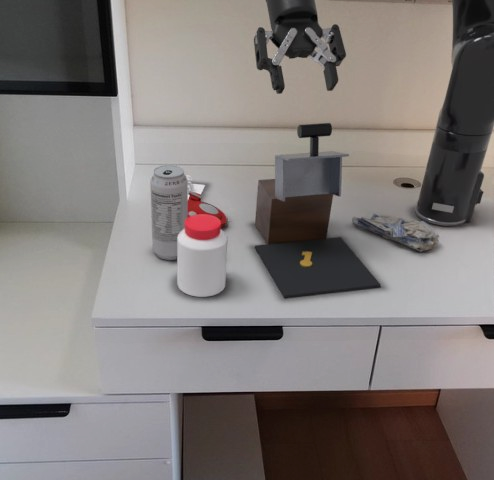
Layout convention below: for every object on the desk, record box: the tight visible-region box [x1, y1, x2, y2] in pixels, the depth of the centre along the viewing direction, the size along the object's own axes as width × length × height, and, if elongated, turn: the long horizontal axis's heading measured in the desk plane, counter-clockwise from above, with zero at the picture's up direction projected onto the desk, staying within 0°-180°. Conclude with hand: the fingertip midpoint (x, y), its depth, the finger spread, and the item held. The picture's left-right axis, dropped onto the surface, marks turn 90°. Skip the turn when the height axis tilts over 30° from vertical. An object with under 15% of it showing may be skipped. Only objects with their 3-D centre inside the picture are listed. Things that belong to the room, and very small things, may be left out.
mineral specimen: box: [351, 213, 440, 253], centre depth 110 cm, size 15×8×4 cm, turn 34°
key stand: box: [254, 178, 334, 244], centre depth 110 cm, size 8×11×9 cm
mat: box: [254, 236, 382, 299], centre depth 103 cm, size 16×16×1 cm
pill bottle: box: [176, 214, 229, 298], centre depth 95 cm, size 8×8×11 cm
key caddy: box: [274, 122, 350, 202], centre depth 99 cm, size 12×10×6 cm
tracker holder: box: [188, 191, 228, 229], centre depth 115 cm, size 12×4×10 cm
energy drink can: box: [149, 164, 188, 261], centre depth 102 cm, size 6×6×15 cm
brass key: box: [300, 251, 312, 267], centre depth 103 cm, size 5×2×1 cm, turn 163°
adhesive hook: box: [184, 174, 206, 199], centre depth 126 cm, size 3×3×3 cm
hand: (306, 89), depth 97 cm, fingers open, 8 cm apart
